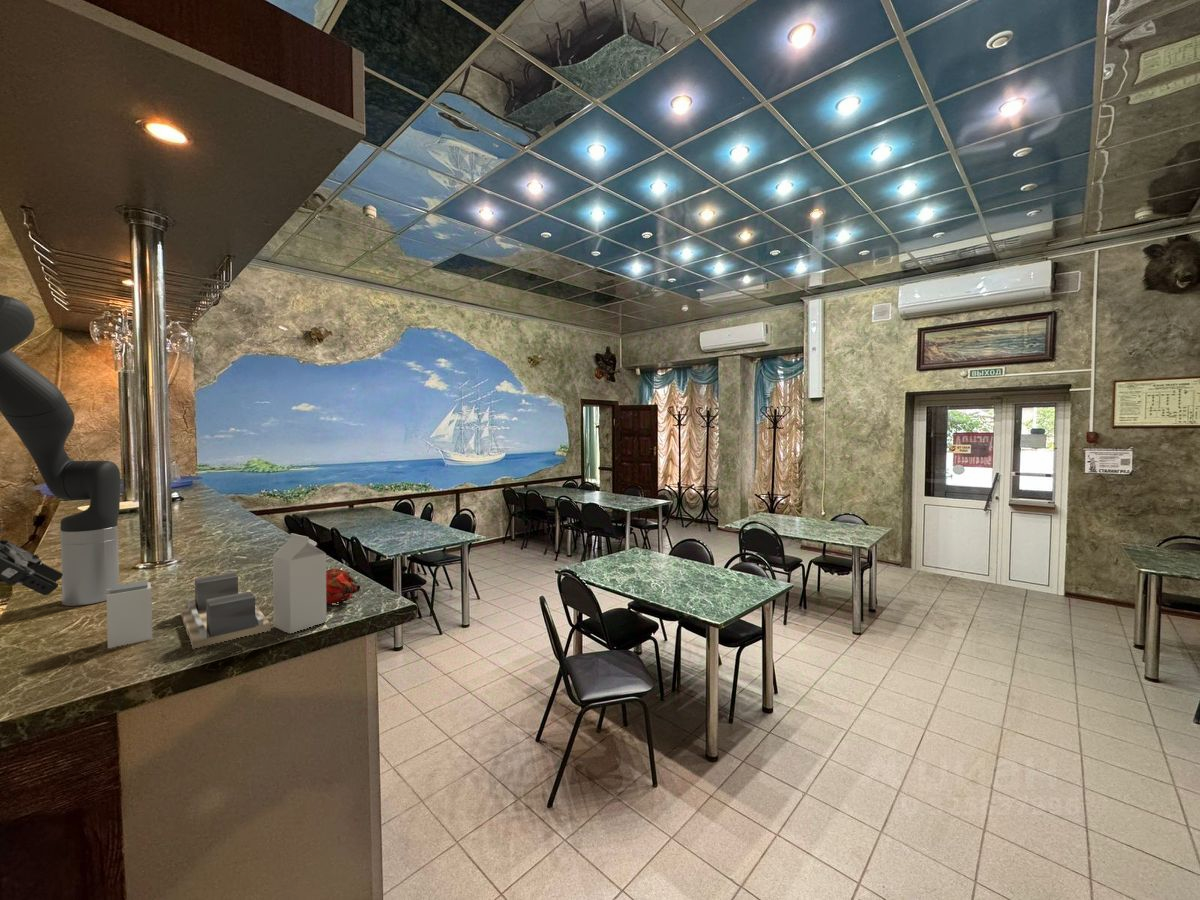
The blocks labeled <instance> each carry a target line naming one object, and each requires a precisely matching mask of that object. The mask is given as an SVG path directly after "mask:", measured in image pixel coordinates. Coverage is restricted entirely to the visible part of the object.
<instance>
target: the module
mask: <svg viewBox="0 0 1200 900" xmlns="http://www.w3.org/2000/svg"><path fill="white" fill-rule="evenodd" d="M106 596H107V600H106V630H107V631H106V633H107V634H106V635H107V640H106V641H107V649H108V648H110V649H112V648H111V647H114V648H117V647H116V646H119V647H122V646H121V645H123V646H127V644H128V645H132V644H136V643H141V642H145V641H150V640H153V613H152V612H153V611H152V610H153V606H152V605H153V603H152V597H153V596H152V585H151V582H148V581H147V580H141V581H136V582H128V583H122V584H119V585H115V586H111V587H110V589H107V595H106Z"/></svg>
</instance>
